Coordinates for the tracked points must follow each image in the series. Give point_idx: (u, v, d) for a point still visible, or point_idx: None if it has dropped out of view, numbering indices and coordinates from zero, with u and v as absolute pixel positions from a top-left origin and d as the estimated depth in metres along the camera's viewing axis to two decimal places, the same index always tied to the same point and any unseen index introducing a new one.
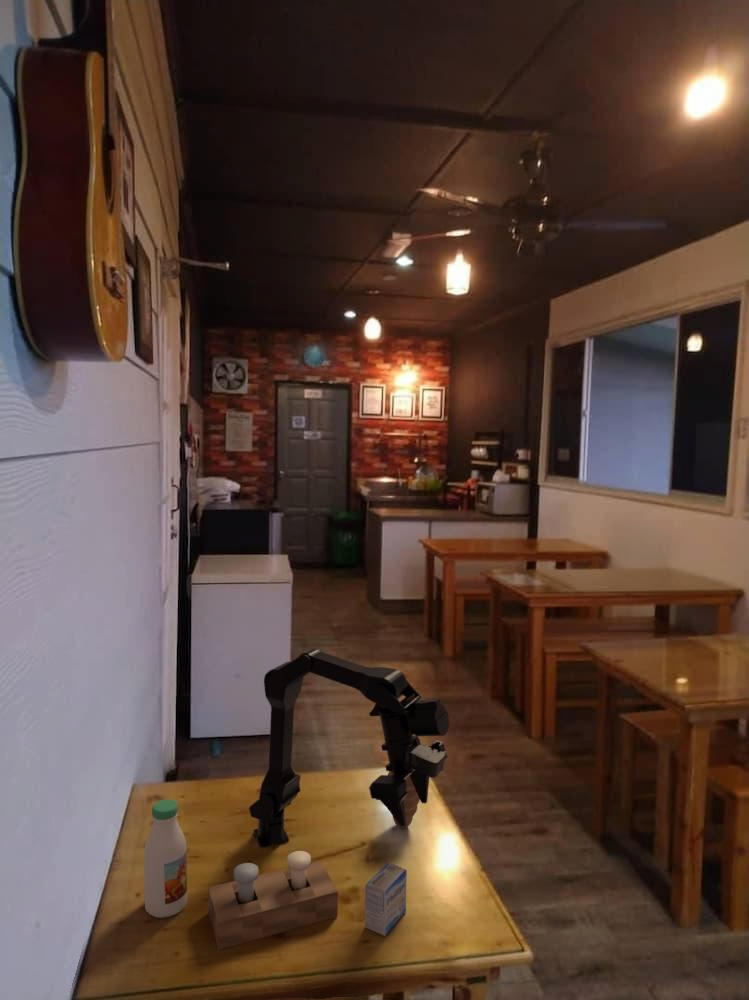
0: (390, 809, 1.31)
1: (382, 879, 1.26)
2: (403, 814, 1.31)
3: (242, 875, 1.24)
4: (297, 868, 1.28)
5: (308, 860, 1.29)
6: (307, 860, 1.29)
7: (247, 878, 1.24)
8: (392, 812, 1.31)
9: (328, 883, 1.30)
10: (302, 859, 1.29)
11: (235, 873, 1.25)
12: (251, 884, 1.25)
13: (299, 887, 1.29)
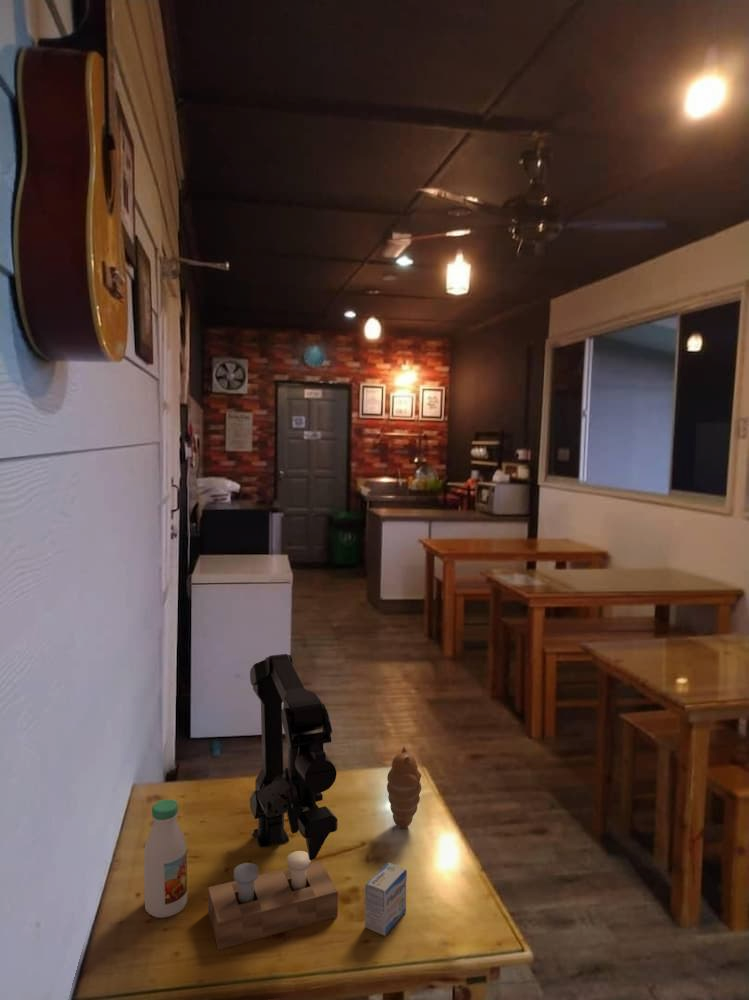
0: None
1: (382, 879, 1.26)
2: (288, 819, 1.33)
3: (242, 875, 1.24)
4: (297, 868, 1.28)
5: (308, 860, 1.29)
6: (307, 860, 1.29)
7: (247, 878, 1.24)
8: None
9: (328, 883, 1.30)
10: (302, 859, 1.29)
11: (235, 873, 1.25)
12: (251, 884, 1.25)
13: (299, 887, 1.29)
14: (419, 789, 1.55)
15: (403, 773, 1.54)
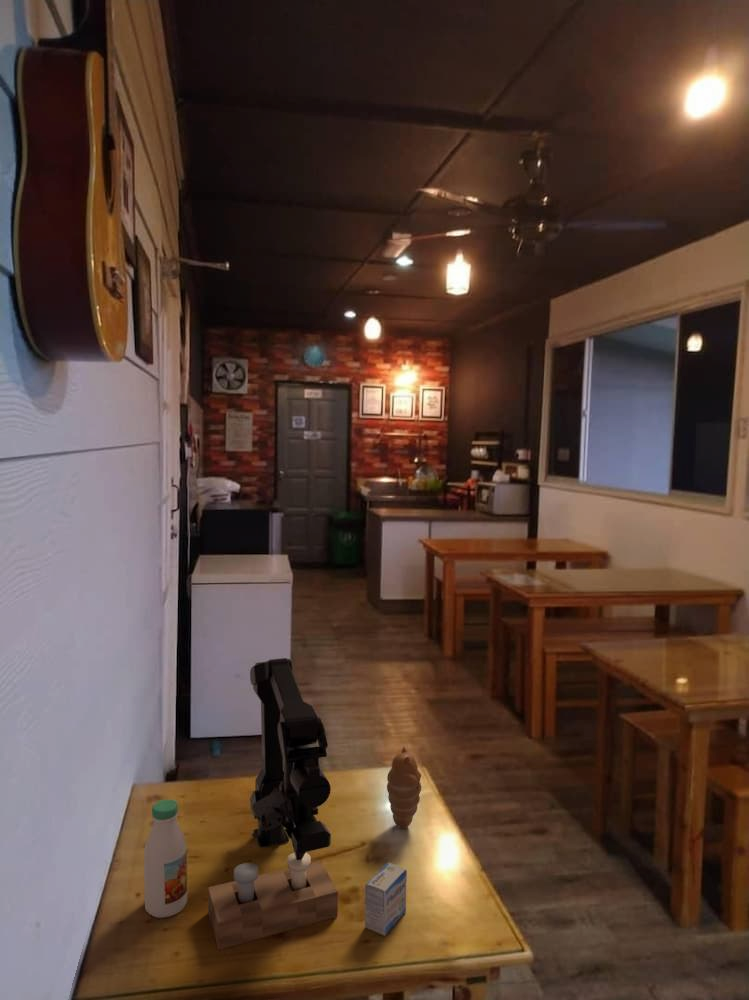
0: None
1: (382, 879, 1.26)
2: (292, 844, 1.30)
3: (242, 875, 1.24)
4: (297, 869, 1.28)
5: (308, 861, 1.29)
6: (307, 860, 1.29)
7: (247, 878, 1.24)
8: None
9: (328, 883, 1.30)
10: (302, 860, 1.29)
11: (235, 873, 1.25)
12: (251, 884, 1.25)
13: (299, 887, 1.29)
14: (419, 789, 1.55)
15: (403, 773, 1.54)
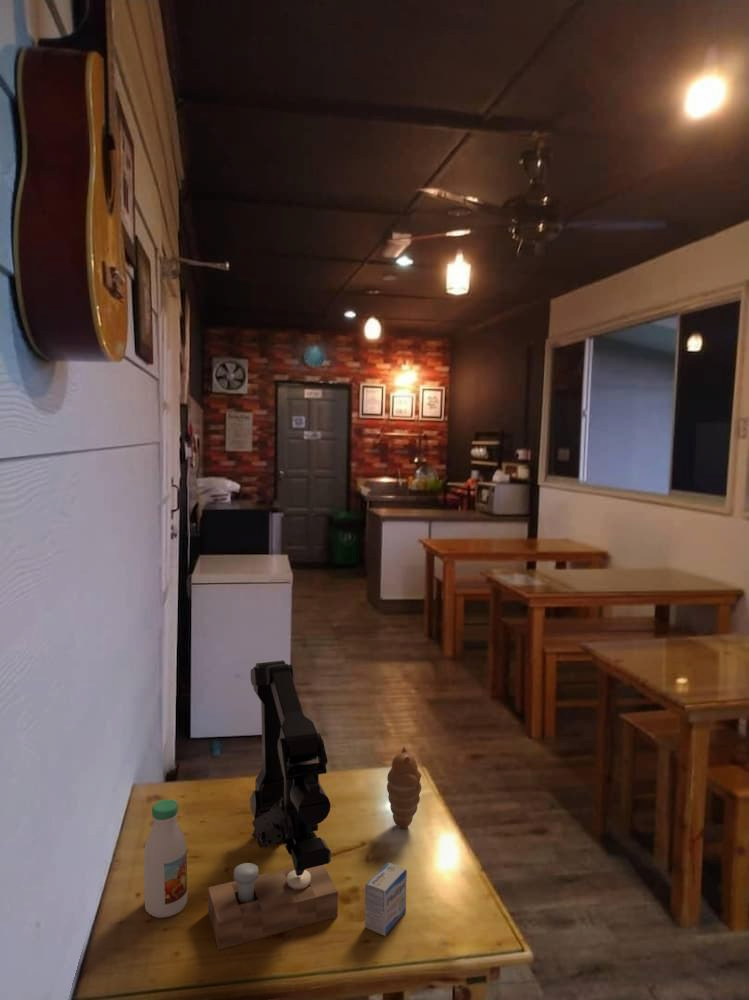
0: None
1: (382, 879, 1.26)
2: (292, 860, 1.30)
3: (242, 875, 1.24)
4: (297, 887, 1.28)
5: (308, 879, 1.29)
6: (307, 878, 1.29)
7: (247, 878, 1.24)
8: None
9: (328, 883, 1.30)
10: (302, 878, 1.30)
11: (235, 873, 1.25)
12: (251, 884, 1.25)
13: None
14: (419, 789, 1.55)
15: (403, 773, 1.54)
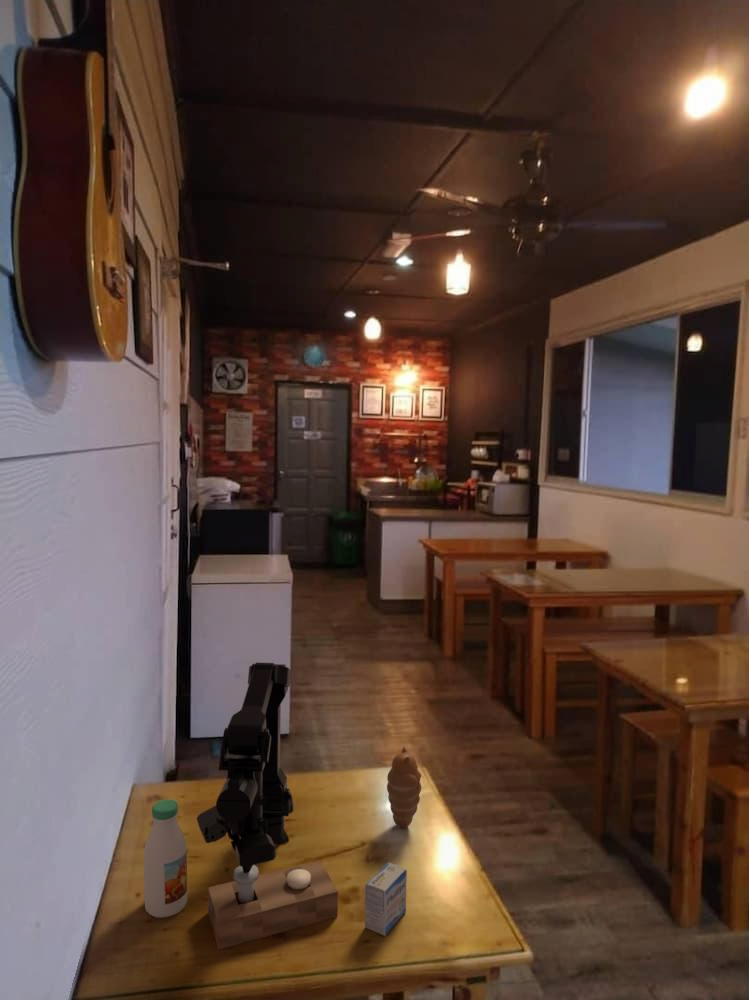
0: None
1: (382, 879, 1.26)
2: None
3: (242, 876, 1.24)
4: (297, 887, 1.28)
5: (308, 879, 1.29)
6: (307, 878, 1.29)
7: (247, 879, 1.24)
8: None
9: (328, 883, 1.30)
10: (302, 878, 1.30)
11: (235, 874, 1.25)
12: (251, 885, 1.25)
13: None
14: (419, 789, 1.55)
15: (403, 773, 1.54)
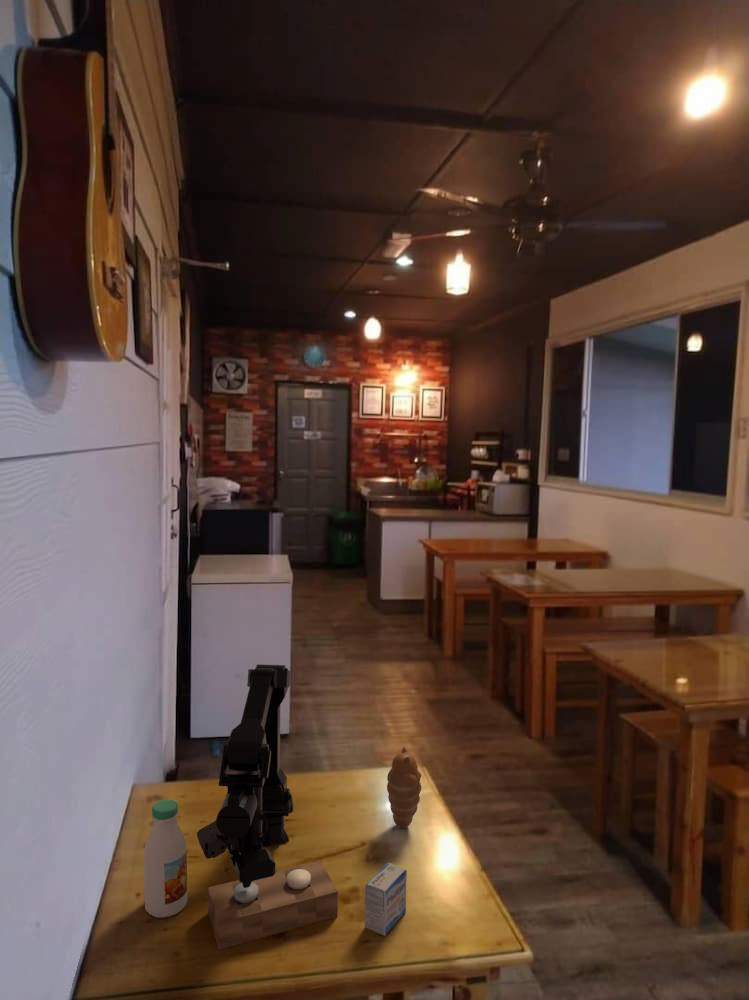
0: None
1: (382, 879, 1.26)
2: None
3: (242, 894, 1.25)
4: (297, 887, 1.28)
5: (308, 879, 1.29)
6: (307, 878, 1.29)
7: (247, 897, 1.24)
8: None
9: (328, 883, 1.30)
10: (302, 878, 1.30)
11: (235, 892, 1.25)
12: None
13: None
14: (419, 789, 1.55)
15: (403, 773, 1.54)
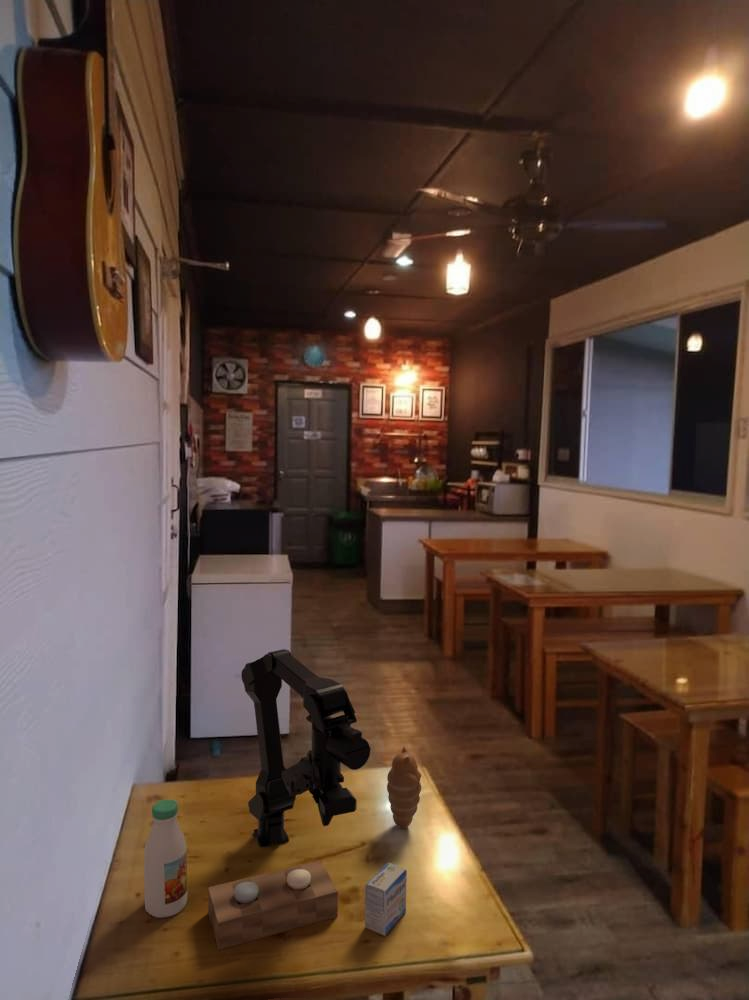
0: None
1: (382, 879, 1.26)
2: (319, 811, 1.36)
3: (242, 894, 1.25)
4: (297, 887, 1.28)
5: (308, 879, 1.29)
6: (307, 878, 1.29)
7: (247, 897, 1.24)
8: None
9: (328, 883, 1.30)
10: (302, 878, 1.30)
11: (235, 892, 1.25)
12: None
13: None
14: (419, 789, 1.55)
15: (403, 773, 1.54)
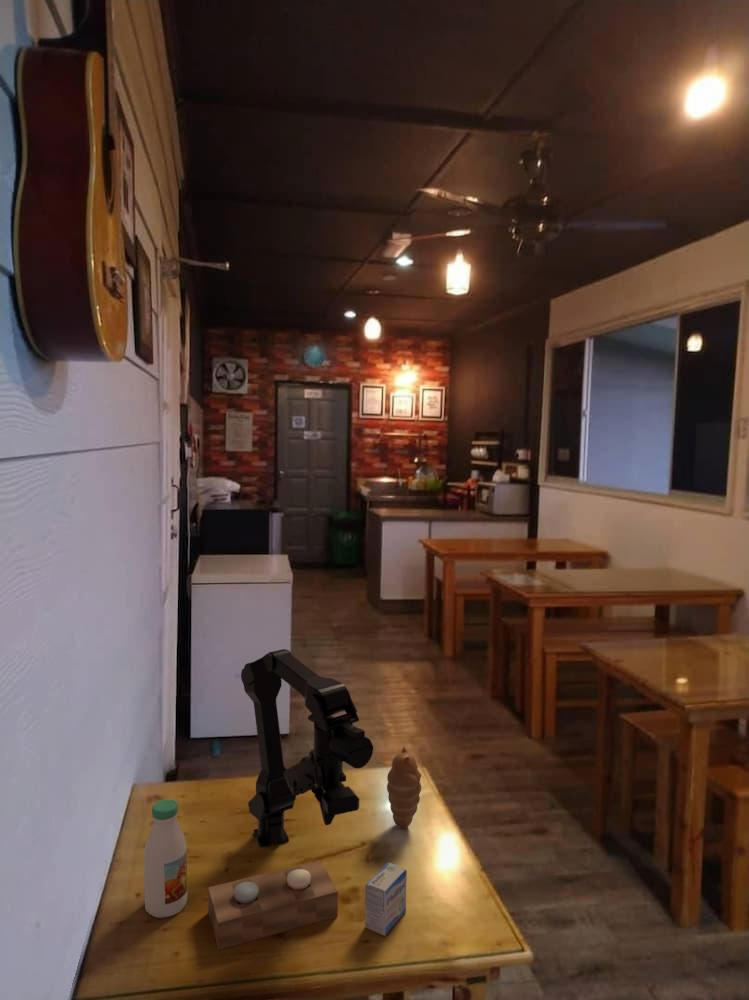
0: None
1: (382, 879, 1.26)
2: (321, 810, 1.36)
3: (242, 894, 1.25)
4: (297, 887, 1.28)
5: (308, 879, 1.29)
6: (307, 878, 1.29)
7: (247, 897, 1.24)
8: None
9: (328, 883, 1.30)
10: (302, 878, 1.30)
11: (235, 892, 1.25)
12: None
13: None
14: (419, 789, 1.55)
15: (403, 773, 1.54)
